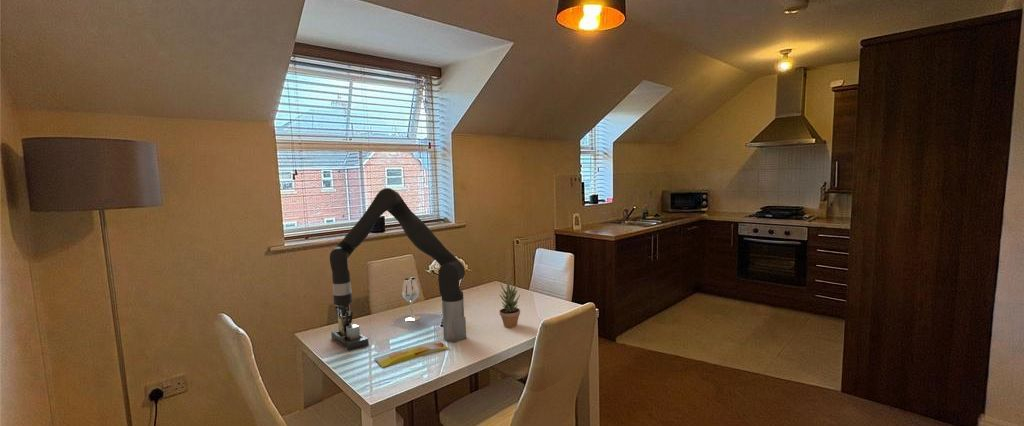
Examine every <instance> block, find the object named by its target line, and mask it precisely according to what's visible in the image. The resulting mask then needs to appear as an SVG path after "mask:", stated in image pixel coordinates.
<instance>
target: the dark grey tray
mask: <svg viewBox="0 0 1024 426" xmlns="http://www.w3.org/2000/svg"><path fill="white" fill-rule="evenodd" d="M330 335H331V339H332V338H333V339H334V340H333V339H332V340H333V341H335V342H336V341H337V342H336V343H338V344H339V345H341V346H342V347H343V348H344V349H346V350H347V351H349V352H351V351H355V350H358V349H362V348H366V347H367V346H369V342H370V341H369V338H368V337H366V336H365V335H363V334H362V333H360V339H357V340H354V341H350V342H349V341H347V335H343V336H340V335H339V329H337V330H336V329H335V330H333V331H331V332H330Z"/></svg>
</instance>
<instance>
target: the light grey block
mask: <svg viewBox="0 0 1024 426" xmlns="http://www.w3.org/2000/svg"><path fill="white" fill-rule="evenodd" d="M360 329H361V328H360V326H359V325H358V324H356V323H354V324H351V325H350V326H346V332H347V341H349V342H350V341H354V340H357V339H360V334H361V333H360Z"/></svg>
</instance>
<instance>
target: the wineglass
mask: <svg viewBox="0 0 1024 426" xmlns="http://www.w3.org/2000/svg"><path fill="white" fill-rule="evenodd" d="M419 295H420V291H419V285H418V281H417V278H416V277H406V278H404V279H403V285H402V297H403V298H404V300H405V301H406V302H408V303H409V304H410V316H406V317H405V318H404V321H405V322H414V321H418V320H420V318H421V316H420V315H414V313H413V302H415V301H416V300H417V299H418V298H419Z"/></svg>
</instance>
